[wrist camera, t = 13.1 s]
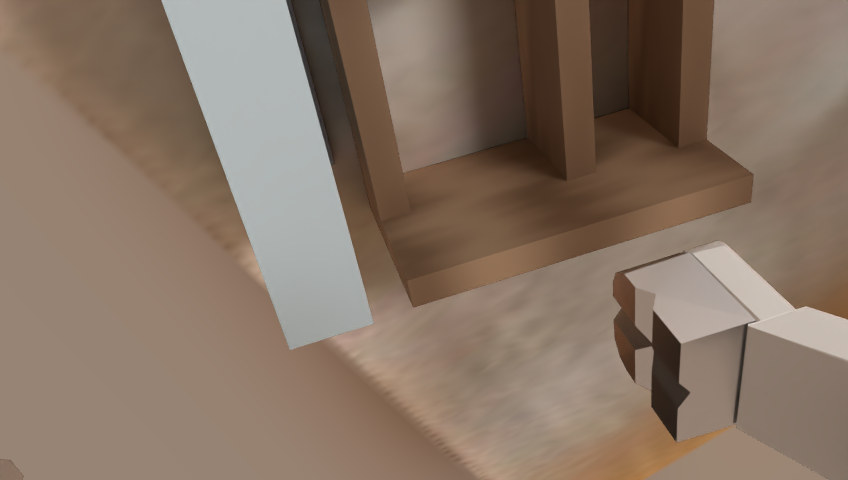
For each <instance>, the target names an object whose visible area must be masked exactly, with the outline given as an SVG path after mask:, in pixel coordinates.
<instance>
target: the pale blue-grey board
mask: <svg viewBox="0 0 848 480" xmlns="http://www.w3.org/2000/svg"><path fill="white" fill-rule="evenodd" d="M161 1H162V4H163V6H164V9H165V12H166V14H167V17H168V20H169V23H170V25H171V28H172V31H173V33H174V36H175V39H176V42H177V44H178V47H179V50H180V53H181V55H182V58H183V61H184V63H185V66H186V69H187V72H188V74H189V77H190V80H191V82H192V85H193V88H194V91H195V93H196V96H197V99H198V102H199V104H200V107H201V110H202V112H203V115H204V118H205V121H206V123H207V126H208V129H209V131H210V134H211V137H212V140H213V142H214V145H215V148H216V151H217V153H218V156H219V159H220V161H221V164H222V167H223V170H224V172H225V175H226V178H227V180H228V183H229V186H230V189H231V191H232V194H233V197H234V200H235V202H236V205H237V208H238V210H239V213H240V216H241V219H242V221H243V224H244V227H245V229H246V232H247V235H248V238H249V240H250V243H251V246H252V249H253V251H254V254H255V257H256V259H257V262H258V265H259V268H260V270H261V273H262V276H263V278H264V281H265V284H266V287H267V289H268V292H269V295H270V297H271V300H272V303H273V306H274V308H275V311H276V314H277V317H278V319H279V322H280V325H281V327H282V330H283V333H284V336H285V338H286V341H287V344H288V346H289V349H290V350H291V349H294V348H297V347H301V346H304V345H307V344H310V343H313V342H317V341H320V340H323V339H326V338H330V337H333V336H336V335H339V334H342V333H346V332H349V331H352V330H355V329H358V328H362V327H365V326H368V325H371V324H374V322H373V318H372V315H371V311H370V307H369V304H368V300H367V296H366V293H365V289H364V285H363V282H362V278H361V274H360V271H359V267H358V263H357V260H356V256H355V252H354V249H353V245H352V241H351V238H350V234H349V230H348V227H347V223H346V219H345V216H344V212H343V208H342V205H341V201H340V197H339V193H338V190H337V186H336V182H335V179H334V175H333V171H332V168H331V164H330V160H329V157H328V153H327V149H326V146H325V142H324V138H323V135H322V131H321V127H320V124H319V120H318V116H317V113H316V109H315V105H314V102H313V98H312V94H311V91H310V87H309V83H308V80H307V76H306V72H305V69H304V65H303V61H302V58H301V54H300V50H299V47H298V43H297V39H296V36H295V32H294V28H293V25H292V21H291V17H290V14H289V10H288V6H287V3H286V0H161Z"/></svg>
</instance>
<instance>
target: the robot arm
mask: <svg viewBox="0 0 848 480" xmlns="http://www.w3.org/2000/svg"><path fill="white" fill-rule="evenodd" d="M613 296H614V298H615V299H616V300H617V302H618V303H619V304H620V306H621V307H622V308H621V310H620V311H619V313H618V314H617V316H616V317H615V319H614V333H615V341H616V344H617V348H618V351H619V355H620V358H621V360H622V362H623V364H624V366H625V368H626V370H627V371H628V373H629V374H630V376H631V377H632V379H633V380H634V382H635V383H636V384H638V385H640V386H642V387H645V388H647V389H649V390H651V407H652V408H653V410H654V411H655V413H656V414H657V415H658V417H659V418H660V420H661V421H662V423H663V424H664V425H665V427H666V428H667V430H668V431H669V433H670V434H671V435H672V437H673V438H674V440H675V441H676V443H677V442H680V441H684V440H687V439H690V438H694V437H697V436H700V435H704V434H707V433H710V432H714V431H717V430H720V429H723V428H727V427H730V426H733V425H736V428H737V429H739V430H741V431H743V432H744V433H746V434H748V435H750V436H752V437H753V438H755V439H757V440H758V441H760V442H762V443H764V444H766V445H767V446H769V447H771V448H773V449H775V450H776V451H778V452H780V453H782V454H783V455H785V456H787V457H789V458H791V459H792V460H794V461H796V462H798V463H800V464H801V465H803V466H805V467H807V468H809V469H810V470H812V471H814V472H816V473H818V474H819V475H821V476H823V477H825V478H826V479H828V480H848V319H844V318H841V317H838V316H835V315H832V314H829V313H826V312H823V311H819V310H816V309H813V308H810V307H807V306H805V307H802V308H799V309H795V308H794V307H793V306H792V305H791V304H790V303H789V302H788V301H787V300H785V299H784V298H783V297H782V296H781V295H780V294H779V293H778V292H777V291H776V290H775V289H774V288H773V287H772V286H771V285H769V284H768V283H767V282H766V281H765V280H764V279H763V278H762V277H761V276H760V275H759V274H758V273H757V272H756V271H754V270H753V269H752V268H751V267H750V266H749V265H748V264H747V263H746V262H745V261H744V260H743V259H742V258H741V257H739V256H738V255H737V254H736V253H735V252H734V251H733V250H732V249H731V248H730V247H729V246H728V245H727V244H725V243H723V242H720V241H714V242H711V243H708V244H705V245H702V246H698V247H695V248H692V249H689V250H686V251H684V252H683V253H678V254H675V255H671V256H668V257H665V258H662V259H659V260H655V261H652V262H649V263H646V264H643V265H639V266H636V267H633V268H630V269H626V270H623V271H620V272H617V273H616V274H615V277H614V280H613ZM23 477H24V476H23V474H22V473H21V472H20V471H19V470H18V468H17V467H16V466H15V465H14V464H13V462H12V461H11V460H6V459H0V480H23Z"/></svg>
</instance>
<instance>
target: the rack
mask: <svg viewBox="0 0 848 480" xmlns="http://www.w3.org/2000/svg"><path fill="white" fill-rule="evenodd" d="M514 2H515V12H516V22H517V32H518V43H519V53H520V63H521V73H522V83H523V94H524V104H525V114H526V124H527V134H528V138H524V139H521V140H517V141H514V142H511V143H507V144H504V145H500V146H497V147H493V148H490V149H486V150H483V151H479V152H476V153H472V154H469V155H465V156H462V157H458V158H455V159H452V160H448V161H445V162H441V163H438V164H434V165H431V166H427V167H424V168H420V169H417V170H413V171H410V172H406V173H403V172H402V167H401V162H400V157H399V153H398V148H397V143H396V139H395V134H394V129H393V124H392V120H391V115H390V110H389V105H388V101H387V96H386V91H385V86H384V82H383V77H382V72H381V67H380V63H379V58H378V53H377V49H376V44H375V39H374V34H373V30H372V25H371V20H370V15H369V11H368V6H367V1H366V0H320V4H321V8H322V12H323V16H324V20H325V25H326V29H327V33H328V37H329V41H330V45H331V49H332V53H333V57H334V61H335V65H336V69H337V73H338V77H339V81H340V85H341V89H342V93H343V97H344V102H345V106H346V110H347V114H348V118H349V122H350V126H351V130H352V134H353V138H354V142H355V146H356V150H357V154H358V158H359V162H360V166H361V170H362V174H363V179H364V183H365V187H366V191H367V195H368V199H369V203H370V207H371V210H372V212H373V215H374V217H375V219H376V222H377V224H378V226H379V229H380V231H381V233H382V236H383V238H384V240H385V243H386V245H387V247H388V250H389V252H390V254H391V257H392V259H393V261H394V264H395V266H396V268H397V271H398V273H399V275H400V278H401V280H402V282H403V285H404V287H405V289H406V292H407V294H408V296H409V299H410V301H411V303H412V306H413V307H417V306H420V305H423V304H426V303H429V302H433V301H436V300H439V299H442V298H445V297H449V296H452V295H455V294H458V293H461V292H465V291H468V290H471V289H474V288H477V287H481V286H484V285H487V284H490V283H493V282H497V281H500V280H503V279H506V278H509V277H513V276H516V275H519V274H522V273H525V272H529V271H532V270H535V269H538V268H541V267H545V266H548V265H551V264H554V263H558V262H561V261H564V260H567V259H570V258H574V257H577V256H580V255H583V254H586V253H590V252H593V251H596V250H599V249H602V248H606V247H609V246H612V245H615V244H618V243H622V242H625V241H628V240H631V239H634V238H638V237H641V236H644V235H647V234H650V233H654V232H657V231H660V230H663V229H666V228H670V227H673V226H676V225H679V224H682V223H686V222H689V221H692V220H695V219H698V218H702V217H705V216H708V215H711V214H715V213H718V212H721V211H724V210H727V209H731V208H734V207H737V206H740V205H743V204H747V203H750V202H751V195H752V185H753V174H752V173H751V172H749V171H748V170H747V169H745V168H744V167H743V166H741V165H740V164H739V163H737V162H736V161H735V160H733V159H732V158H731V157H729V156H728V155H727V154H725V153H724V152H723V151H721V150H720V149H718V148H717V147H716V146H714V145H713V144H712V143H710V142H709V141H708V140H707V122H708V104H709V85H710V67H711V48H712V30H713V12H714V0H628V43H629V109H625V110H622V111H618V112H615V113H611V114H608V115H604V116H601V117H597V118H594V110H593V85H592V61H591V37H590V13H589V0H514Z"/></svg>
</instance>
